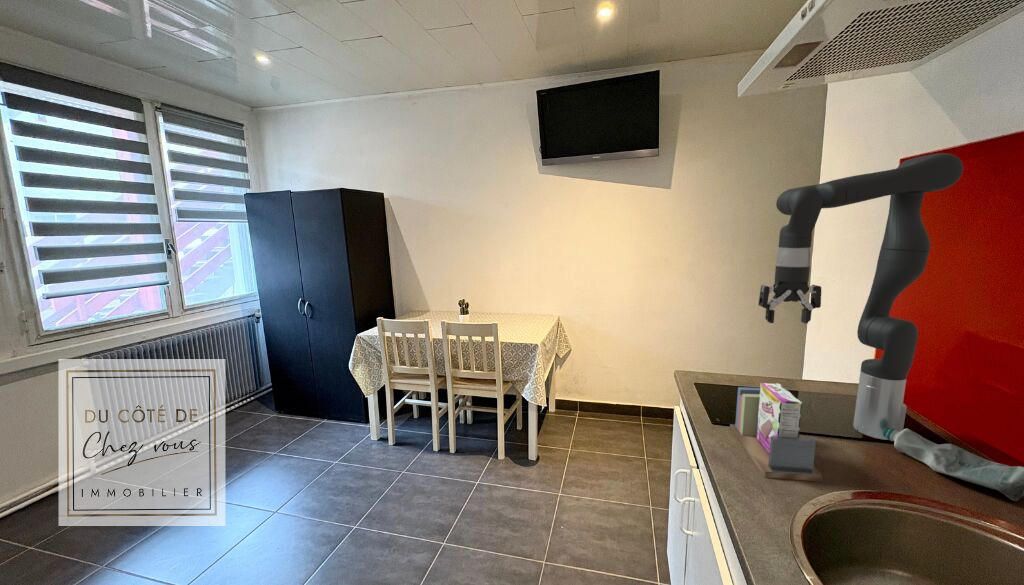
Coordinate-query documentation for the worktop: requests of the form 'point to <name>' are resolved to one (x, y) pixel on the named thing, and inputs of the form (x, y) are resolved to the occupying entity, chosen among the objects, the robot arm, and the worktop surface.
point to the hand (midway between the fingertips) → (787, 322)
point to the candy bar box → (777, 414)
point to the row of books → (747, 410)
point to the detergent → (960, 463)
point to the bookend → (792, 455)
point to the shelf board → (767, 458)
